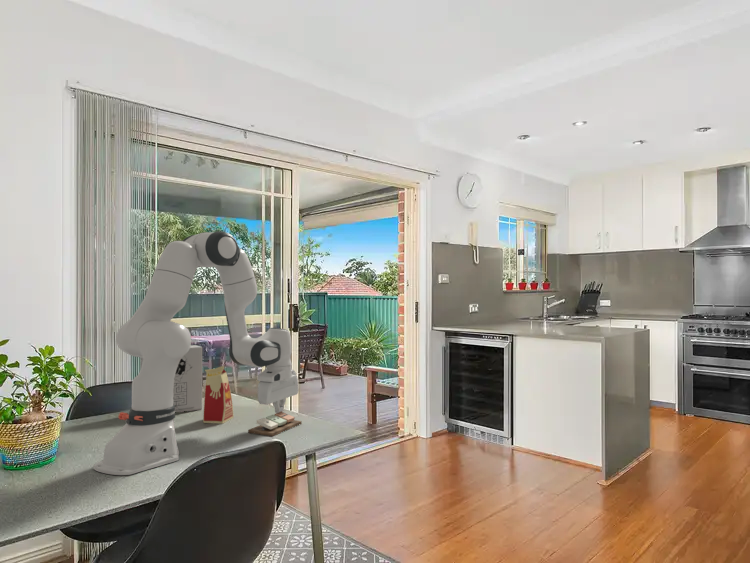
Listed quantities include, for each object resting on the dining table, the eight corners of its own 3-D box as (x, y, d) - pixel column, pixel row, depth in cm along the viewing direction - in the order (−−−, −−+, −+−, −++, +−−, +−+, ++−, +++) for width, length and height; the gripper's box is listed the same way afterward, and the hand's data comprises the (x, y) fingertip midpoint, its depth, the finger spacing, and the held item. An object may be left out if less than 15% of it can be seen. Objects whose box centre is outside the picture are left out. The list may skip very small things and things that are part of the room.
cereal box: (196, 406, 213) (197, 345, 214) (202, 409, 207) (202, 346, 207) (139, 413, 201) (140, 348, 201) (143, 417, 195) (144, 350, 195)
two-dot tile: (279, 425, 176) (280, 422, 176) (265, 419, 179) (265, 416, 179) (286, 423, 180) (286, 420, 180) (272, 417, 182) (272, 414, 182)
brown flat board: (273, 436, 169) (273, 429, 169) (248, 432, 174) (248, 425, 174) (301, 423, 185) (301, 417, 185) (278, 421, 189) (278, 414, 189)
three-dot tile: (287, 422, 181) (288, 419, 181) (273, 416, 183) (274, 413, 183) (294, 419, 184) (294, 416, 184) (280, 414, 187) (281, 411, 187)
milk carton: (233, 417, 194) (233, 363, 195) (224, 423, 185) (224, 367, 185) (210, 416, 195) (210, 363, 195) (199, 423, 186) (199, 367, 186)
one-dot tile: (270, 429, 172) (271, 426, 172) (256, 423, 174) (256, 420, 174) (277, 426, 175) (278, 423, 175) (263, 420, 178) (264, 417, 178)
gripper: (288, 368, 196) (288, 405, 196) (254, 376, 177) (254, 417, 177) (302, 369, 193) (302, 406, 193) (269, 378, 175) (269, 419, 174)
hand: (279, 412), depth 185 cm, fingers closed
